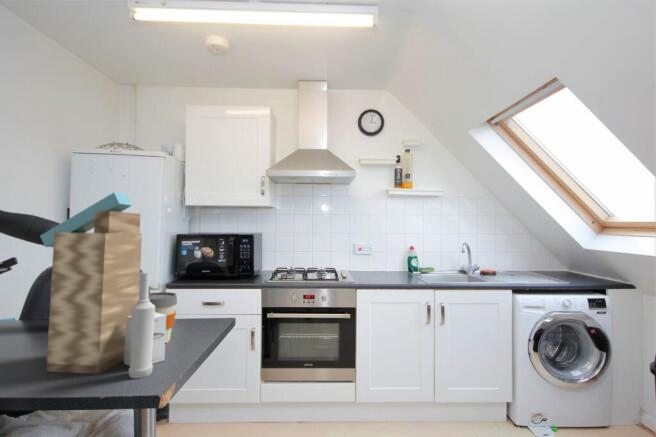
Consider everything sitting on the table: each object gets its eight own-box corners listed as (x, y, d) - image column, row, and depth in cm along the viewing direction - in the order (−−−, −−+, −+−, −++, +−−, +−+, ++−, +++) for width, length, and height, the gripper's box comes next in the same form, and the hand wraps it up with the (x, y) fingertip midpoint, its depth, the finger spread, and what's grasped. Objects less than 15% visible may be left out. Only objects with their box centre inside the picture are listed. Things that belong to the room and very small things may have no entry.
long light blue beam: (39, 246, 87) (42, 192, 88) (56, 246, 92) (59, 194, 93) (117, 248, 85) (119, 192, 86) (130, 247, 90) (132, 194, 91)
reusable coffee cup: (182, 342, 102) (183, 295, 103) (138, 353, 93) (140, 301, 94) (167, 334, 111) (168, 290, 112) (125, 342, 102) (127, 295, 102)
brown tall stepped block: (46, 371, 80) (55, 210, 82) (91, 351, 94) (98, 214, 96) (98, 373, 79) (106, 210, 81) (136, 353, 93) (142, 214, 95)
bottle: (135, 370, 81) (139, 271, 83) (156, 369, 82) (160, 271, 83) (123, 379, 76) (128, 274, 78) (146, 378, 77) (150, 274, 78)
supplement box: (137, 370, 81) (139, 320, 82) (123, 363, 85) (125, 316, 86) (165, 360, 87) (167, 314, 88) (150, 355, 91) (152, 310, 92)
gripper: (-89, 272, 84) (-32, 248, 84) (-27, 269, 98) (21, 248, 98) (-82, 299, 83) (-24, 275, 83) (-21, 292, 97) (29, 271, 97)
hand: (0, 260), depth 90 cm, fingers open, 8 cm apart
